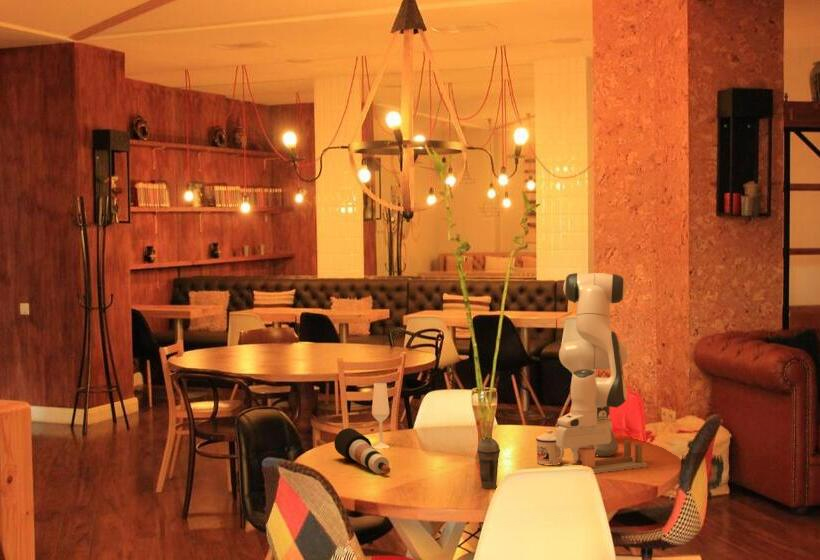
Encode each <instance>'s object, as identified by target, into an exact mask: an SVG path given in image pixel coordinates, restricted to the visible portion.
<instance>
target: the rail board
mask: <svg viewBox="0 0 820 560" xmlns="http://www.w3.org/2000/svg"><path fill="white" fill-rule="evenodd" d="M623 452H624V453H623V454H624V455H623V456H618V457H611V458H610V457H609V458H601V459H595V467H592V469H593V471H594V472H595V473H597V474H601V473H600V472H604V473H609V472H608V471H612V472H617V471H616V470H619V471H625V470H624V469H627V470H633V469H632V468H634V469H641V468H640V467H642V468H647V467H648V463H647V462H644V461H643V445H642V444H640V443H637V444H634V458H633V456H632V442H631V441H630V440H624V441H623ZM568 465H582V462H577V463H574V462H572V463H564V464H563V465H562V467H563V466H568Z"/></svg>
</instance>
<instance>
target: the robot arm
mask: <svg viewBox="0 0 820 560" xmlns="http://www.w3.org/2000/svg"><path fill="white" fill-rule="evenodd" d="M626 290H627V285H626V283H625V281H624V278H623V276H622V275H619V274H616V273H615V274H614V273H613V274H610V273H605V272H604V273H601V272H593V273H592V272H587V273H586V272H585V273H577V272H576V273H575V272H574V273H573V272H572V273H570V274H568V275H566V278H565V280H564V282H563V294H564V296H565V299H567V300H568V301H569V302H572V303H573V304H576V303H577V306H576V307H577V308H576V316H575V318H576V319H575V323H576V325H575V327H576V331H577V334H578V335H579V336H580V337H581V340H580V339H579V340H577V339H576V340H570V341H567V342H563V344H561V347H560V348H559V351H558V358H559V361H560V363H561V364H562V366H563V367H564V368H566V369H567V370H568V371H569V372H570V373H571V375H572V376H571V382H570V385H569V398H570V400H571V405H570V412H569V413H567V414H565V415H562V416H561V417H559V418H557V425H558V427H557V428H556V433H555V434H556V445H557V446H558V447H559V448H562V449H564V450H567V449H570V451H571V452H572V454H573V461H574V460H576V461H577V460H581V458H580V457H581V455H579V454H578V453H577V450H578V447H586V446H590V447H591V449H594V450H595V451H596V449H597V445H602V444H609V443H610V442H611V431H610V428H611V430H612V433H613V425H612V420H611V421H610V420H609V419H611V417H610V414H611V413H610V411H611V408H618V407H621V406H622V405H623V404H624V403H625V402H626V401H627V395H628V390H627V386H626V382H625V377H624V371H623V366H625V365H626V363H627V361H628V359H629V358H628V357H629V351H628V348H627V347H626V345H625V344H624V342H622V341H621V340H619V339H618V336H617V334H616V332H615V331H613V330H612V329H611V324H610V322H611V319H610V316H611V315H610V313H611V311H610V310H611V304H617V303H620V302H621V301H623V299H624V297H625V295H626ZM610 303H611V304H610ZM593 370H610V376H609V377H600V376H598V377H597V376H596V373H595V371H593ZM608 418H609V419H608ZM613 434H614V433H613Z"/></svg>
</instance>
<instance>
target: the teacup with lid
mask: <svg viewBox="0 0 820 560" xmlns="http://www.w3.org/2000/svg"><path fill="white" fill-rule="evenodd" d="M535 440H536V462H537V464H538V463H539V464H538V465H540V464H550V465H551V464H552V465H555V464H558V463H561V462H562V463H563V457H564V454H565V449H562V448H559V447H558V446H557V445H556V433H555V432H553V430H552V429H546V432H544V433H542V434H540V435H537V436H536V439H535ZM562 463H561V464H562ZM555 466H556V465H555Z"/></svg>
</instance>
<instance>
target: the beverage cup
mask: <svg viewBox="0 0 820 560" xmlns="http://www.w3.org/2000/svg"><path fill="white" fill-rule="evenodd" d="M490 425H491V424H488V425H487V437H485V438H483V439H482V440H480V442H479V443H478V445H477V450H476V451H477V458H478V462H479V472H480V473H479V474H480V482H481V488H483V489H489V490H490V489H495V488H497V483H498V468H499V457H500V452H501V450H500V444H499V443H498V442H497V440H495V439H494V438H491V437H490V431H491V430H490Z"/></svg>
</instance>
